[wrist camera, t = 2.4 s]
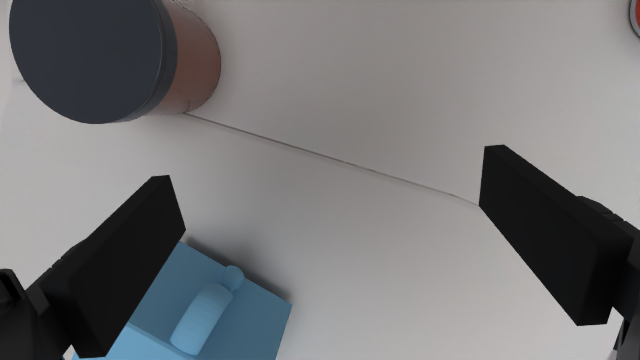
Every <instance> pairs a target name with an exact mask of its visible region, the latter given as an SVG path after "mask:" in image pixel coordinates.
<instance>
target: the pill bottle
mask: <svg viewBox="0 0 640 360" xmlns="http://www.w3.org/2000/svg"><path fill="white" fill-rule="evenodd" d="M630 19H631V23H632V26H633V28H634V30H635V31H636V33H637V34H638V35H639V36H640V0H632V2H631V7H630Z"/></svg>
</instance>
